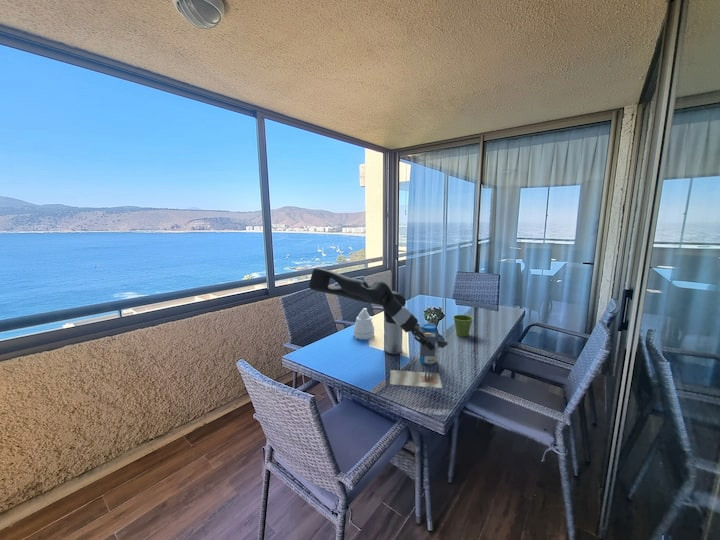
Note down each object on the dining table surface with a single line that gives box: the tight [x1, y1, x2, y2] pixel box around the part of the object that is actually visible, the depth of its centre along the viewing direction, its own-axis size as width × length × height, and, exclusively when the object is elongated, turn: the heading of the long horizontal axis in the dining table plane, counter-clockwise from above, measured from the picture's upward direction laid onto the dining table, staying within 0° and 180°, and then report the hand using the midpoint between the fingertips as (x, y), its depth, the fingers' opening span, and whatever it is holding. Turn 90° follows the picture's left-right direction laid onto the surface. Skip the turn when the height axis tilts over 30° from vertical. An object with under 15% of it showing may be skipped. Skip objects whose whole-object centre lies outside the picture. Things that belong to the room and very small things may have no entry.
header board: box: [389, 369, 443, 389], centre depth 128 cm, size 22×12×4 cm, turn 82°
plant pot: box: [452, 314, 474, 338], centre depth 180 cm, size 12×12×11 cm
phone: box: [437, 338, 448, 348], centre depth 171 cm, size 8×1×15 cm
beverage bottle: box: [419, 323, 438, 366], centre depth 142 cm, size 8×8×20 cm
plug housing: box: [419, 333, 437, 357], centre depth 125 cm, size 6×4×10 cm, turn 81°
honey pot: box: [353, 307, 375, 340], centre depth 180 cm, size 13×13×18 cm
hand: (432, 346), depth 124 cm, fingers closed on plug housing, 4 cm apart
